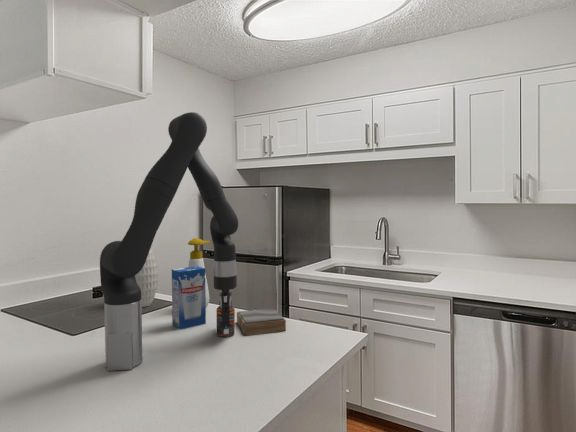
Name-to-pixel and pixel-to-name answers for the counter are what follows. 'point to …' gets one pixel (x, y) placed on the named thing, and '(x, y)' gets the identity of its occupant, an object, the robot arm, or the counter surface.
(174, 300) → the milk carton
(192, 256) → the soap bottle
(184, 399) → the counter surface
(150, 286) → the vase
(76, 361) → the counter surface
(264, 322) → the walnut block
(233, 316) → the supplement bottle
